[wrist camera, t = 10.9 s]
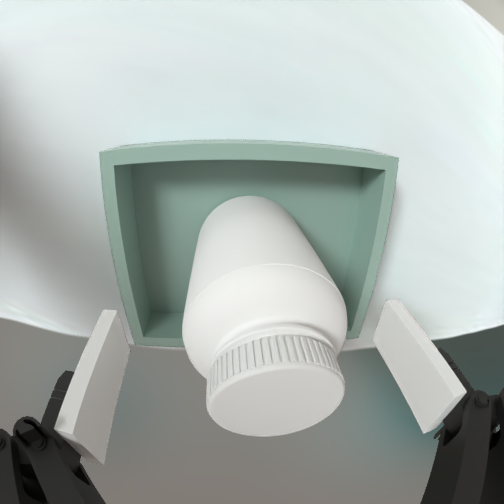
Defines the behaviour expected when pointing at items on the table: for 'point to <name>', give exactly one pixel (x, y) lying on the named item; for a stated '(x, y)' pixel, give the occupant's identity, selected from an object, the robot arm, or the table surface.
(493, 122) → the table surface
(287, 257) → the pill bottle
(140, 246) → the box
